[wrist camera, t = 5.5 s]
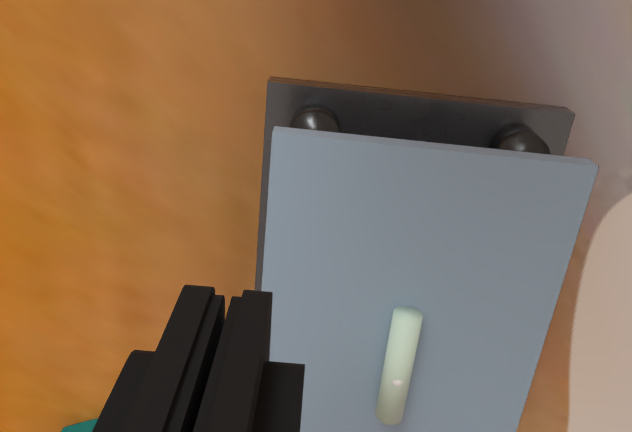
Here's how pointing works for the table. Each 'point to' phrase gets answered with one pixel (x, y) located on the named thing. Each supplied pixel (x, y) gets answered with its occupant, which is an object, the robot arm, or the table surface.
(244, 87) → the table surface
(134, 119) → the table surface
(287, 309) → the plate
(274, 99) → the leveling stand
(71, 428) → the digital multimeter
